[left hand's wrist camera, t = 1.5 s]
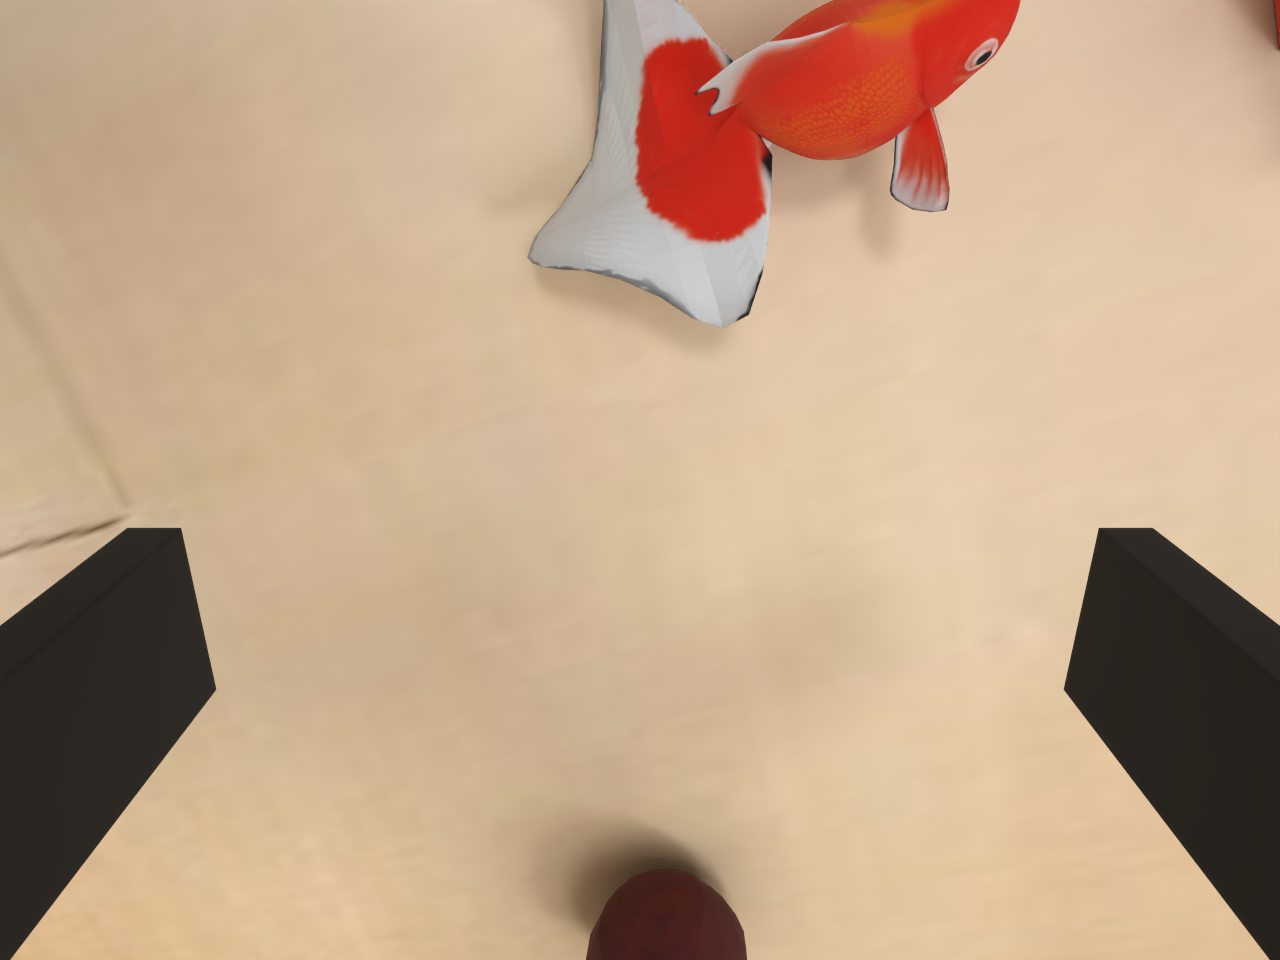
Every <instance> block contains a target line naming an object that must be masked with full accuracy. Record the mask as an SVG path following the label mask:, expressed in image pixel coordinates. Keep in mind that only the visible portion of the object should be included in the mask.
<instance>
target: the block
mask: <svg viewBox="0 0 1280 960" xmlns="http://www.w3.org/2000/svg"><path fill="white" fill-rule="evenodd" d="M1274 6H1275V14H1276V22H1277V30H1278V38H1279V46H1280V0H1274Z"/></svg>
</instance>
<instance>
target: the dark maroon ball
mask: <svg viewBox="0 0 1280 960" xmlns="http://www.w3.org/2000/svg"><path fill="white" fill-rule="evenodd" d="M586 960H747V954H746V945H745V938H744V931H743V929H742V927H741V925H740V923H739V920H738V918H737V916H736V914H735V913H734V912H733V911H732V909H731V908H730V907H729V905H728V904H727V903H726V901H725V900H724V899H723V897H722V896H720V895H719V894H718V893H717V892H716V891H715V890H714V889H712V888H711V887H710V886H708V885H707V884H705V883H703V882H702V881H700V880H699V879H697V878H695V877H694V876H692V875H690V874H688V873H685V872H681V871H677V870H673V869H667V870H651V871H648V872H645V873H642V874H640V875H637V876H634V877H632V878H631V879H629V880H628V881H627V882H626V883H625V884H623V885H622V886H621V887H620V888H619V889H618V890H617V891H616V892H615V893H614V894H613V895H612V896H611V897H610V899H609V900H608V902H607V904H606V906H605V908H604V909H603V911H602V913H601V915H600V917H599V919H598V921H597V923H596V925H595V927H594V929H593V931H592V933H591V934H590V940H589V946H588V951H587V957H586Z"/></svg>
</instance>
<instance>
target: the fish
mask: <svg viewBox="0 0 1280 960" xmlns="http://www.w3.org/2000/svg"><path fill="white" fill-rule="evenodd" d="M1019 5H1020V0H833V1H831V2H828V3H826V4H824V5H822V6H821V7H819V8H817V9H815V10H813V11H811V12H810V13H808V14H806V15H804V16H803V17H801V18H800V19H798V20H797V21H795V22H794V23H793V24H791V25H790V26H789V27H788V28H786V29H785V30H784V31H783V32H781V33H780V34H779V35H778V36H777V37H776V38H774V39H773V40H772V41H771V42H765V43H764V44H762V45H760V46H759V47H757V48H755V49H753V50H752V51H750V52H748V53H747V54H745V55H743V56H741V57H740V58H738V59H736V60H735V61H732V60H731V59H730V58H729V57H728V56H727V55H726V54H725V53H724V52H723V51H722V49H721V48H720V47H719V46H718V45H717V44H716V43H715V42H714V41H713V40H712V39H711V38H710V37H709V36H708V35H707V34H706V33H705V31H704V30H703V29H702V27H701V26H700V25H699V24H698V22H697V21H696V20H695V19H694V17H693V16H692V15H691V14H690V13H689V12H688V11H687V10H686V9H685V8H684V7H683V6H682V5H681V4H680V3H679V2H678V1H677V0H604V5H603V24H602V43H601V62H600V84H599V106H598V118H597V125H596V133H595V140H594V147H593V155H592V159H591V160H590V162H589V164H588V165H587V167H586V168H585V170H584V171H583V173H582V175H581V176H580V178H579V179H578V181H577V182H576V184H575V186H574V187H573V189H572V190H571V192H570V193H569V195H568V196H567V198H566V200H565V201H564V203H563V204H562V206H561V207H560V208H559V209H558V210H557V211H556V212H555V214H554V215H553V216H552V217H551V218H550V219H549V220H548V221H547V223H546V224H545V225H544V226H543V227H542V229H541V230H540V231H539V232H538V234H537V235H536V236H535V238H534V240H533V243H532V246H531V248H530V251H529V254H528V259H529V260H530V261H531V262H532V263H534V264H536V265H539V266H541V267H547V268H554V269H563V270H586V271H590V272H594V273H598V274H601V275H605V276H609V277H613V278H617V279H620V280H623V281H625V282H628V283H630V284H632V285H634V286H637V287H639V288H641V289H643V290H646V291H648V292H650V293H653V294H655V295H657V296H659V297H661V298H663V299H664V300H666V301H667V302H669V303H670V304H672V305H673V306H675V307H676V308H678V309H679V310H681V311H682V312H684V313H685V314H687V315H688V316H690V317H691V318H693V319H696V320H699V321H702V322H705V323H708V324H711V325H714V326H718V327H721V328H725V327H727V326H728V325H730V324H732V323H734V322H736V321H738V320H740V319H742V318H744V317H745V316H747V315H749V313H750V310H751V307H752V303H753V300H754V297H755V294H756V291H757V288H758V285H759V282H760V279H761V276H762V272H763V267H764V261H765V255H766V250H767V244H768V234H769V219H770V200H771V175H772V154H771V153H770V151H769V148H770V146H771V145H772V144H776V145H778V146H780V147H782V148H784V149H787V150H789V151H791V152H793V153H796V154H798V155H801V156H804V157H807V158H811V159H818V160H839V159H847V158H853V157H856V156H859V155H862V154H865V153H867V152H869V151H871V150H873V149H875V148H877V147H879V146H881V145H883V144H885V143H886V142H888V141H890V140H891V139H893V138H894V137H896V139H895V152H894V167H893V174H892V179H891V186H890V192H891V195H892V196H893V197H894V198H895V200H897V201H899V202H900V203H902V204H904V205H905V206H907V207H909V208H911V209H913V210H920V211H928V212H936V211H943V210H946V209H947V205H948V200H949V190H950V189H949V181H948V170H947V160H946V155H945V149H944V146H943V142H942V138H941V134H940V130H939V127H938V123H937V120H936V116H935V113H934V109H933V108H934V107H936V106H937V105H939V104H940V103H941V102H943V101H944V100H945V99H947V98H948V97H949V96H950V95H951V94H952V93H953V92H954V91H955V90H956V89H957V88H959V87H960V86H961V85H962V84H963V83H964V82H965V81H966V80H968V79H969V78H970V77H971V76H972V75H973V74H974V73H975V72H977V71H978V70H979V69H980V68H982V67H983V66H984V65H985V64H986V63H987V62H988V61H989V60H990V59H991V58H992V57H993V56H994V55H995V54H996V53H997V51H998V50H999V48H1000V47H1001V45H1002V44H1003V42H1004V41H1005V39H1006V38H1007V36H1008V35H1009V32H1010V30H1011V28H1012V25H1013V23H1014V21H1015V18H1016V15H1017V12H1018V9H1019Z"/></svg>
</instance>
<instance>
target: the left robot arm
mask: <svg viewBox="0 0 1280 960" xmlns="http://www.w3.org/2000/svg"><path fill="white" fill-rule="evenodd" d="M215 691H216V686H215V682H214V677H213V672H212V668H211V663H210V659H209V654H208V649H207V645H206V640H205V636H204V631H203V627H202V622H201V617H200V613H199V608H198V604H197V599H196V594H195V590H194V585H193V581H192V576H191V571H190V567H189V562H188V558H187V553H186V549H185V544H184V539H183V535H182V530H181V528H127V529H125V530H124V531H123V532H122V533H120V534H119V535H118V536H116V537H115V538H114V539H112V540H111V541H110V542H109V543H107V544H106V545H105V546H103V547H102V548H101V549H99V550H98V551H97V552H96V553H94V554H93V555H92V556H90V557H89V558H88V559H86V560H85V561H84V562H83V563H81V564H80V565H79V566H77V567H76V568H75V569H73V570H72V571H71V572H70V573H68V574H67V575H66V576H64V577H63V578H62V579H60V580H59V581H58V582H57V583H55V584H54V585H53V586H51V587H50V588H49V589H47V590H46V591H45V592H44V593H42V594H41V595H40V596H38V597H37V598H36V599H34V600H33V601H32V602H31V603H29V604H28V605H27V606H25V607H24V608H23V609H21V610H20V611H19V612H18V613H16V614H15V615H14V616H12V617H11V618H10V619H8V620H7V621H6V622H4V623H3V624H2V625H1V626H0V960H10V959H11V958H12V957H13V955H14V954H15V953H16V951H17V950H18V949H19V947H20V946H21V945H22V944H23V942H24V941H25V940H26V938H27V937H28V936H29V934H30V933H31V932H32V930H33V929H34V928H35V926H36V925H37V924H38V923H39V921H40V920H41V919H42V917H43V916H44V915H45V913H46V912H47V911H48V909H49V908H50V907H51V906H52V904H53V903H54V902H55V900H56V899H57V898H58V896H59V895H60V894H61V892H62V891H63V890H64V888H65V887H66V886H67V885H68V883H69V882H70V881H71V879H72V878H73V877H74V875H75V874H76V873H77V871H78V870H79V869H80V868H81V866H82V865H83V864H84V862H85V861H86V860H87V858H88V857H89V856H90V854H91V853H92V852H93V850H94V849H95V848H96V847H97V845H98V844H99V843H100V841H101V840H102V839H103V837H104V836H105V835H106V833H107V832H108V831H109V829H110V828H111V827H112V826H113V824H114V823H115V822H116V820H117V819H118V818H119V816H120V815H121V814H122V812H123V811H124V810H125V809H126V807H127V806H128V805H129V803H130V802H131V801H132V799H133V798H134V797H135V795H136V794H137V793H138V791H139V790H140V789H141V788H142V786H143V785H144V784H145V782H146V781H147V780H148V778H149V777H150V776H151V774H152V773H153V772H154V770H155V769H156V768H157V767H158V765H159V764H160V763H161V761H162V760H163V759H164V757H165V756H166V755H167V753H168V752H169V751H170V750H171V748H172V747H173V746H174V744H175V743H176V742H177V740H178V739H179V738H180V736H181V735H182V734H183V732H184V731H185V730H186V729H187V727H188V726H189V725H190V723H191V722H192V721H193V719H194V718H195V717H196V715H197V714H198V713H199V712H200V710H201V709H202V708H203V706H204V705H205V704H206V702H207V701H208V700H209V698H210V697H211V696H212V694H213V693H214V692H215ZM1064 691H1065V692H1066V693H1067V694H1068V696H1069V697H1070V698H1071V700H1072V701H1073V702H1074V704H1075V705H1076V706H1077V708H1078V709H1079V710H1080V712H1081V713H1082V714H1083V715H1084V717H1085V718H1086V719H1087V721H1088V722H1089V723H1090V725H1091V726H1092V727H1093V729H1094V730H1095V731H1096V732H1097V734H1098V735H1099V736H1100V738H1101V739H1102V740H1103V742H1104V743H1105V744H1106V746H1107V747H1108V748H1109V750H1110V751H1111V752H1112V753H1113V755H1114V756H1115V757H1116V759H1117V760H1118V761H1119V763H1120V764H1121V765H1122V767H1123V768H1124V769H1125V770H1126V772H1127V773H1128V774H1129V776H1130V777H1131V778H1132V780H1133V781H1134V782H1135V784H1136V785H1137V786H1138V788H1139V789H1140V790H1141V791H1142V793H1143V794H1144V795H1145V797H1146V798H1147V799H1148V801H1149V802H1150V803H1151V805H1152V806H1153V807H1154V809H1155V810H1156V811H1157V812H1158V814H1159V815H1160V816H1161V818H1162V819H1163V820H1164V822H1165V823H1166V824H1167V826H1168V827H1169V828H1170V829H1171V831H1172V832H1173V833H1174V835H1175V836H1176V837H1177V839H1178V840H1179V841H1180V843H1181V844H1182V845H1183V847H1184V848H1185V849H1186V850H1187V852H1188V853H1189V854H1190V856H1191V857H1192V858H1193V860H1194V861H1195V862H1196V864H1197V865H1198V866H1199V868H1200V869H1201V870H1202V871H1203V873H1204V874H1205V875H1206V877H1207V878H1208V879H1209V881H1210V882H1211V883H1212V885H1213V886H1214V887H1215V888H1216V890H1217V891H1218V892H1219V894H1220V895H1221V896H1222V898H1223V899H1224V900H1225V902H1226V903H1227V904H1228V906H1229V907H1230V908H1231V909H1232V911H1233V912H1234V913H1235V915H1236V916H1237V917H1238V919H1239V920H1240V921H1241V923H1242V924H1243V925H1244V926H1245V928H1246V929H1247V930H1248V932H1249V933H1250V934H1251V936H1252V937H1253V938H1254V940H1255V941H1256V942H1257V944H1258V945H1259V946H1260V947H1261V949H1262V950H1263V951H1264V953H1265V954H1266V955H1267V957H1268V958H1269V959H1270V960H1280V626H1279V625H1278V624H1277V623H1276V622H1274V621H1273V620H1272V619H1270V618H1269V617H1268V616H1266V615H1265V614H1264V613H1263V612H1261V611H1260V610H1259V609H1257V608H1256V607H1255V606H1253V605H1252V604H1251V603H1249V602H1248V601H1247V600H1246V599H1244V598H1243V597H1242V596H1240V595H1239V594H1238V593H1236V592H1235V591H1234V590H1233V589H1231V588H1230V587H1229V586H1227V585H1226V584H1225V583H1223V582H1222V581H1221V580H1220V579H1218V578H1217V577H1216V576H1214V575H1213V574H1212V573H1210V572H1209V571H1208V570H1207V569H1205V568H1204V567H1203V566H1201V565H1200V564H1199V563H1197V562H1196V561H1195V560H1194V559H1192V558H1191V557H1190V556H1188V555H1187V554H1186V553H1184V552H1183V551H1182V550H1181V549H1179V548H1178V547H1177V546H1175V545H1174V544H1173V543H1171V542H1170V541H1169V540H1168V539H1166V538H1165V537H1164V536H1162V535H1161V534H1160V533H1158V532H1157V531H1156V530H1155V529H1153V528H1099V530H1098V535H1097V539H1096V544H1095V549H1094V553H1093V558H1092V562H1091V567H1090V572H1089V576H1088V581H1087V585H1086V590H1085V594H1084V599H1083V604H1082V608H1081V613H1080V617H1079V622H1078V627H1077V631H1076V636H1075V640H1074V645H1073V649H1072V654H1071V659H1070V663H1069V668H1068V672H1067V677H1066V682H1065V686H1064Z"/></svg>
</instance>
